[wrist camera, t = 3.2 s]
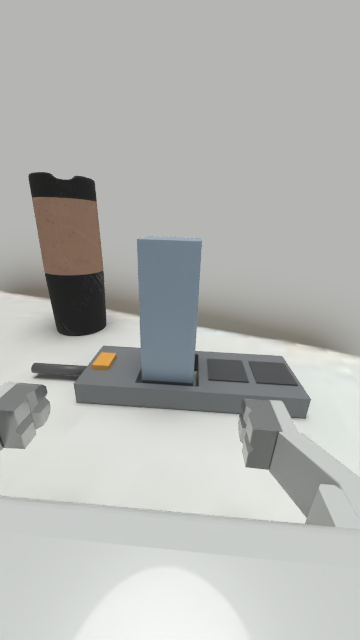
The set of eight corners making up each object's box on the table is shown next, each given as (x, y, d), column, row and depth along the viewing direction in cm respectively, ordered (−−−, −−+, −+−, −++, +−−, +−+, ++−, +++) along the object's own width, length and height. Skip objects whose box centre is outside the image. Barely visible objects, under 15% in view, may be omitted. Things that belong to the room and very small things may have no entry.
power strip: (12, 397, 21) (5, 374, 21) (54, 357, 28) (51, 338, 27) (305, 418, 20) (312, 394, 19) (278, 371, 27) (282, 352, 26)
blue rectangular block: (142, 397, 22) (137, 239, 17) (151, 369, 26) (149, 236, 21) (192, 401, 22) (201, 241, 17) (192, 371, 26) (200, 238, 21)
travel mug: (80, 314, 41) (63, 184, 34) (117, 321, 39) (107, 182, 32) (43, 331, 35) (11, 173, 27) (84, 340, 32) (62, 170, 25)
